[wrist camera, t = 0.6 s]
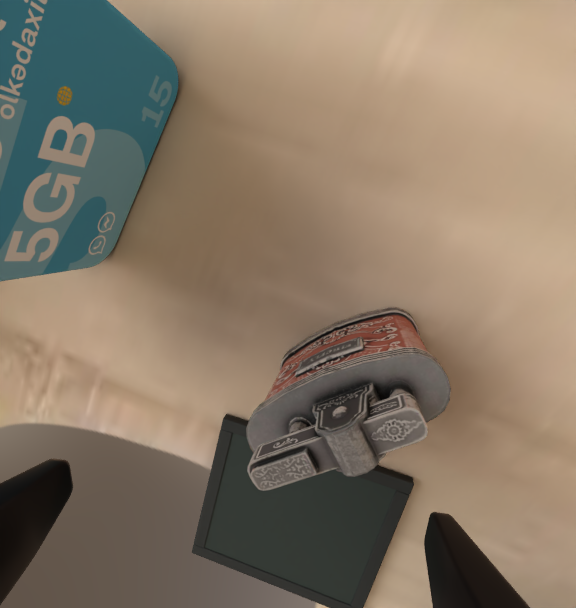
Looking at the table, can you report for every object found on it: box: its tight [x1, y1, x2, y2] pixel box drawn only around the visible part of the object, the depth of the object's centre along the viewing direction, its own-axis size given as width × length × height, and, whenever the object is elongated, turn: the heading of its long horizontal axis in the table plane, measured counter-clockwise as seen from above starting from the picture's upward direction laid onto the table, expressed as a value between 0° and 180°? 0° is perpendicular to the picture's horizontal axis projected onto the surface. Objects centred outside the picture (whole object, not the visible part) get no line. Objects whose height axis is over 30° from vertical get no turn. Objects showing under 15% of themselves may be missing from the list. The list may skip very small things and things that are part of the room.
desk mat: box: [192, 414, 414, 608], centre depth 23 cm, size 12×11×1 cm
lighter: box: [246, 307, 451, 491], centre depth 16 cm, size 8×3×10 cm, turn 117°
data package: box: [0, 0, 178, 281], centre depth 15 cm, size 12×4×12 cm, turn 150°
